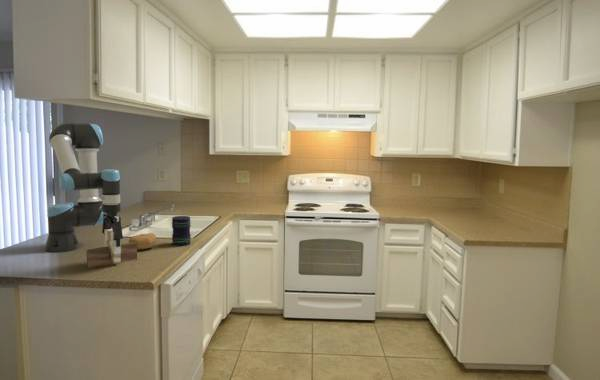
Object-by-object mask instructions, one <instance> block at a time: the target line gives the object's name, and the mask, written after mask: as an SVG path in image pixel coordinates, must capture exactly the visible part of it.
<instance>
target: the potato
mask: <svg viewBox="0 0 600 380" xmlns="http://www.w3.org/2000/svg"><path fill="white" fill-rule="evenodd" d="M132 242H136V243H137V251H138V250H139V251H144V250H148V249H150V248H152V247H154V246H155V245H156V243H157V236H156V234H154V233H150V232H149V233H140V234H136V235H133V236H131V237H130V238H129V240H128V243H132Z"/></svg>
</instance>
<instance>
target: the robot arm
mask: <svg viewBox="0 0 600 380" xmlns="http://www.w3.org/2000/svg"><path fill="white" fill-rule="evenodd" d="M48 141H49V145H50V147H51V148H52V149H53V151H54V153H55V156H56V160H57V162H58V165H59V168H60V172H61V174H59V176H58V184H59V188H60V190H61V191H79V192H80V193H79V194H80V197H79V199H78V200H77V204H75V203H74V202H72V201H71V202H68V201H67V202H59V203H56V204H52V205H50V206H49V207H48V208H47V225H48V226H47V227H48V236H47V239H46V242H45V245H44V249H45V251H46V252H48V253H49V252H51V253H60V252H69V251H73V250H76V249H79V247H80V243H79V240H78V238H77V235H76V232H75V228H81V227H89V226H97V225H101V224H102V231H101V233H102V234H103V236H104V238H105V231H104V229H112V230H113V233H114V238H115V239H113V240H114V254H119V253H121V244H122V243H121V242H122V241H121V240H123V239H124V236H123V229H122V222H121V221H122V220H121V219H122V218H121V216H118V213H120V212H121V177H120V171H119V169H103V170H101V172H100V171H99V172H98V156H97V155H98V154H97V153H98V152H99V151H100V147H102V146H103V145H104V137H103V133H102V130H101V127H100V126H99V125H98V124H95V123H77V122H74V123H73V122H64V123H60V124H57V126H55V127H54V128H53V129H52V130H51V131H50V134H49V137H48ZM73 146H74V150H75V151H76V152H77V153H78V160H77V157H76V155H75V153H74V150H73ZM99 190H101V197H99ZM118 236H119V237H118Z"/></svg>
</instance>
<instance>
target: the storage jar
mask: <svg viewBox="0 0 600 380" xmlns="http://www.w3.org/2000/svg"><path fill="white" fill-rule="evenodd" d="M171 229H172V235H171V241H172V244H173V245H172V244H171V245H172V246H174V245H177V246H176V247H186V246H189V245H191V238H192V237H191V217H190V216H189V215H188V216H187V215H177V216H172V217H171Z"/></svg>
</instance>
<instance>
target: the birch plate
mask: <svg viewBox="0 0 600 380" xmlns="http://www.w3.org/2000/svg"><path fill="white" fill-rule="evenodd" d="M104 231H105V235H104V236H105V237H104V247H108V249H109V255H111V262H113V263H114V264H118V263H117V262H119V263H122V262H121V253H119V254H114V240H113V239H115V238H114V233H113V230H112V228H111V229H104ZM118 237H119V236H118Z"/></svg>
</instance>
